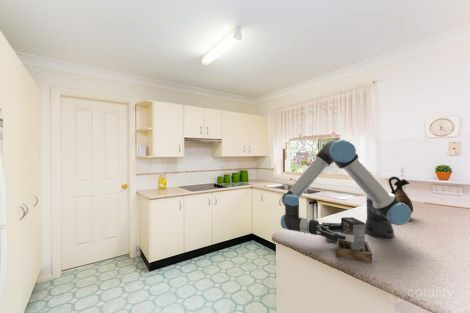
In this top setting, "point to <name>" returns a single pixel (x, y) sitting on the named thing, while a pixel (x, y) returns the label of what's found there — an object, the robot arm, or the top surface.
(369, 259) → the walnut caddy
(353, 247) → the coffee box
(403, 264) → the top surface
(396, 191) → the ceramic jug
